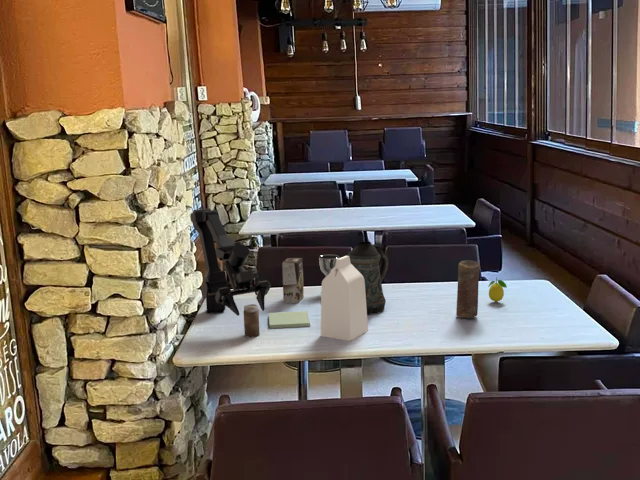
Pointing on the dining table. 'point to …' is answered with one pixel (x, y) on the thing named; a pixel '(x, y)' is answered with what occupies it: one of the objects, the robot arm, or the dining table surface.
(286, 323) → the serving board
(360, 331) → the milk
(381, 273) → the beer stein
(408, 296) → the dining table surface
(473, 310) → the candle
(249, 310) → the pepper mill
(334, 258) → the wine glass
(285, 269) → the coffee box
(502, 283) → the lemon
